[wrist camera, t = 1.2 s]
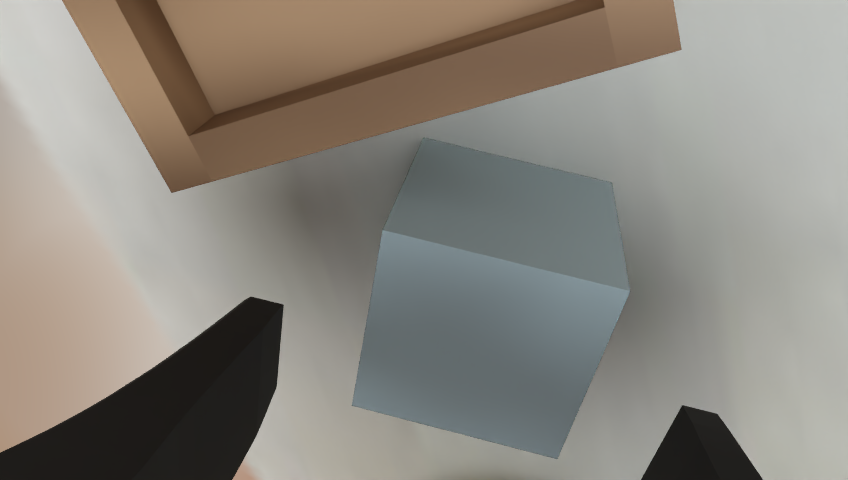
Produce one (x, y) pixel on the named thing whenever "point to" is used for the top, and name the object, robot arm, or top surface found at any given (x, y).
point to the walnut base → (340, 67)
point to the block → (492, 298)
